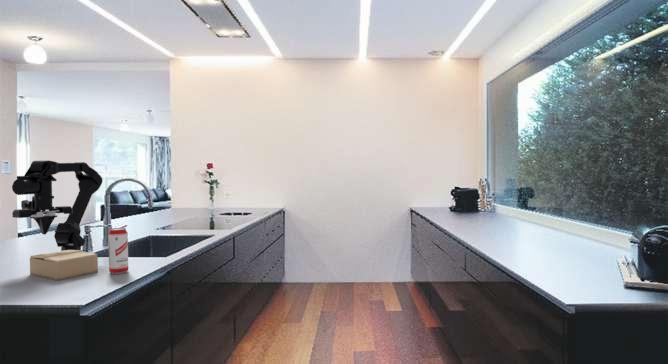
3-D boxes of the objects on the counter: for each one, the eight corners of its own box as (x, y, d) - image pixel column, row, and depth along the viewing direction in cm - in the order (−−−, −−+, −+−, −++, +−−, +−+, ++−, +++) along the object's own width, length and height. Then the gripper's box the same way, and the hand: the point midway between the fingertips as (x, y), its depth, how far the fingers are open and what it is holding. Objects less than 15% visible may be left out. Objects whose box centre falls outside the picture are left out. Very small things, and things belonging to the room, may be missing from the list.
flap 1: (69, 251, 168) (69, 249, 168) (82, 251, 163) (82, 250, 163) (30, 257, 156) (30, 255, 156) (43, 258, 151) (43, 256, 151)
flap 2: (82, 253, 163) (82, 251, 163) (96, 255, 159) (96, 253, 159) (43, 259, 151) (43, 258, 151) (57, 262, 147) (57, 260, 147)
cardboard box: (70, 266, 168) (69, 251, 168) (97, 271, 159) (97, 255, 159) (30, 274, 156) (29, 257, 156) (57, 280, 147) (57, 262, 147)
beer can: (132, 271, 159) (131, 228, 159) (117, 275, 153) (116, 230, 153) (120, 269, 162) (119, 227, 161) (105, 273, 156) (104, 229, 156)
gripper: (57, 191, 177) (58, 229, 177) (4, 194, 161) (5, 236, 161) (72, 192, 171) (73, 231, 172) (19, 195, 155) (20, 238, 156)
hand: (44, 234), depth 165 cm, fingers closed
